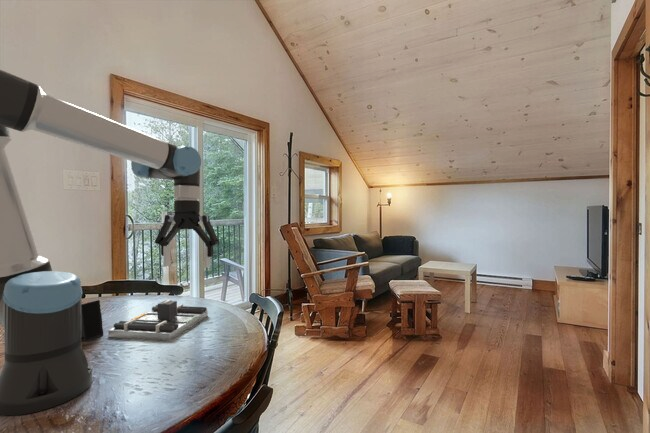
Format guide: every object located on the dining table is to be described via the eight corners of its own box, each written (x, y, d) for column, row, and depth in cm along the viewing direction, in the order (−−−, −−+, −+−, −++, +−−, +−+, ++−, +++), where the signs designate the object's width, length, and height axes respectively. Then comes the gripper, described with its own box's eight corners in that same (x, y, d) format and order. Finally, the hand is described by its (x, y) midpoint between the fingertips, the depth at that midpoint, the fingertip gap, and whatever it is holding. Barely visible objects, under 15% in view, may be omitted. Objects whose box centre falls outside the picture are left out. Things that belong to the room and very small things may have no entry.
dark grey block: (169, 320, 103) (169, 303, 103) (157, 319, 103) (157, 302, 103) (176, 316, 107) (176, 299, 107) (165, 315, 107) (165, 299, 107)
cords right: (202, 314, 110) (202, 308, 110) (151, 311, 112) (151, 306, 112) (208, 310, 114) (208, 305, 114) (158, 308, 116) (158, 303, 116)
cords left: (172, 332, 93) (172, 326, 93) (112, 329, 95) (112, 322, 95) (180, 327, 97) (180, 321, 97) (122, 324, 99) (122, 318, 99)
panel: (169, 340, 92) (169, 332, 92) (108, 337, 94) (108, 329, 94) (207, 316, 114) (207, 309, 114) (157, 313, 116) (157, 307, 116)
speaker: (108, 335, 95) (104, 299, 96) (84, 342, 91) (80, 304, 91) (99, 331, 100) (96, 297, 100) (76, 338, 96) (73, 302, 96)
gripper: (229, 200, 106) (229, 265, 107) (157, 200, 109) (157, 263, 109) (219, 199, 99) (219, 269, 99) (142, 199, 102) (142, 267, 102)
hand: (187, 266), depth 104 cm, fingers open, 13 cm apart
